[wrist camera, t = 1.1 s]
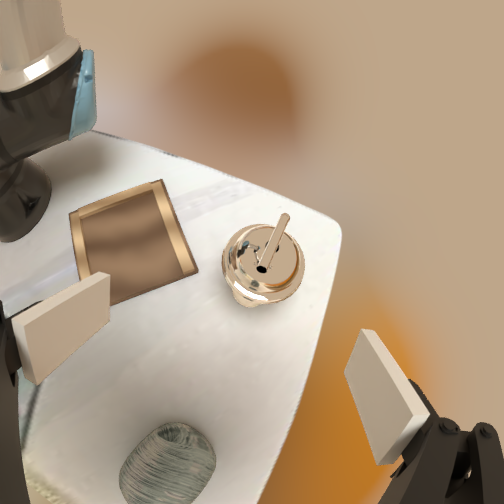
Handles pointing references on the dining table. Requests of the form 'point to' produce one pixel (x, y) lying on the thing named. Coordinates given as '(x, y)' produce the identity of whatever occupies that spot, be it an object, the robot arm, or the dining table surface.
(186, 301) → the dining table surface
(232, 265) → the cup with straw
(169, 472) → the spool
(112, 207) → the brown flat square tray
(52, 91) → the robot arm
